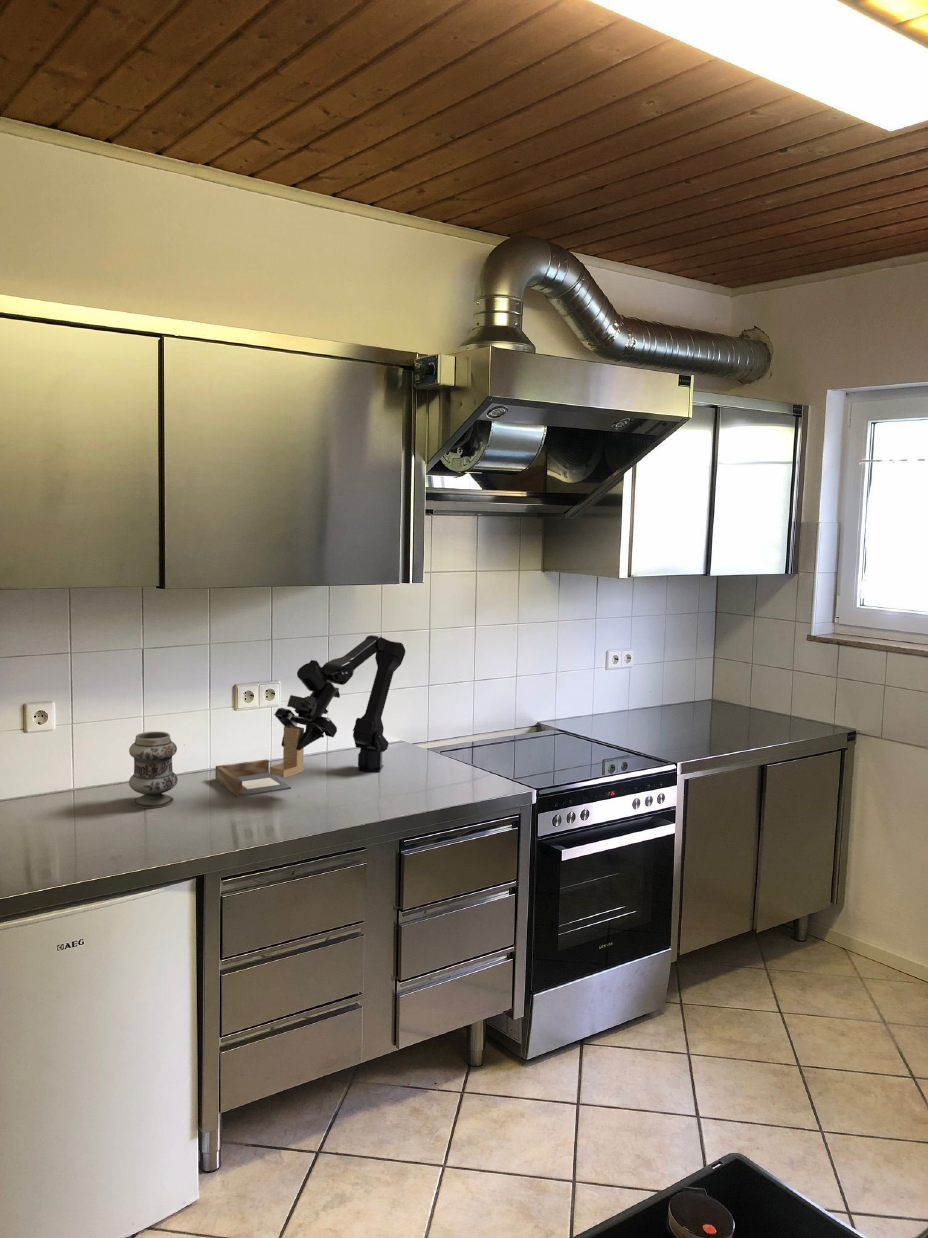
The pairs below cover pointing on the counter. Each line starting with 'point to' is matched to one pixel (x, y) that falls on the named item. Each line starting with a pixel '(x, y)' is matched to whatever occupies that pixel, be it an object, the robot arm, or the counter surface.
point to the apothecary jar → (153, 769)
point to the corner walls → (239, 773)
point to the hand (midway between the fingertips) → (289, 748)
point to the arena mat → (261, 784)
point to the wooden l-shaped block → (290, 753)
